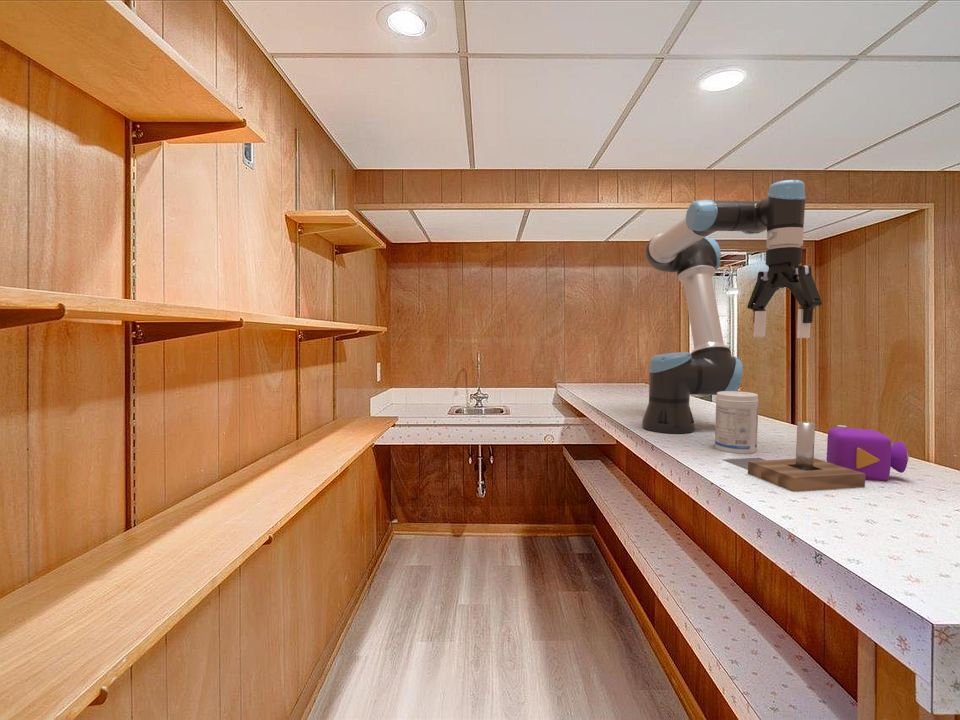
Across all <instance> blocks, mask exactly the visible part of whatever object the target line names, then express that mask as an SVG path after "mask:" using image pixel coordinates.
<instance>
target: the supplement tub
mask: <svg viewBox="0 0 960 720" xmlns="http://www.w3.org/2000/svg"><path fill="white" fill-rule="evenodd" d="M758 420H759V395H758V393H755V392H749V391H741V390H740V391H738V390H736V391H721V392H717V395H716V398H715V424H714V425H715V427H714V430H715V431H714V434H715V435H714V447H715V449H716V450H718V451H721V452H726V453H730V454H740V455H750V454H754V453H756V451H757V449H758V428H759V427H758V425H759V422H758Z"/></svg>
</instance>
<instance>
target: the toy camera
mask: <svg viewBox="0 0 960 720" xmlns="http://www.w3.org/2000/svg"><path fill="white" fill-rule="evenodd" d="M826 442H827V443H826V445H827V446H826V462H829V463H832V464H835V465H839V466H842V467H845V468H849V469H852V470H855V471H859V472H862V473H865V480H872V481H881V482H883V481H888V480H889V479H890V475H891V469H893V470H895V471H896V472H898V473H900V474H903V473H904V472H905V471H906V469H907V466H908V462H909V460H910V459H909V457H910V456H909V453H908V449H907V446H906V444H905V443H904V442H903V441H902V440H900V441H897V442H895V443H892V441H891V438H889V437H888V436H887V435H885V434H883V433H881V432H879V431H877V430H874V429H866V428H864V429H863V428H853V427H852V428H851V427H848V425H842V424H838V425H836V427H832V428H830V429H828V432H827V441H826Z"/></svg>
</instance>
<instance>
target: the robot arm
mask: <svg viewBox="0 0 960 720" xmlns="http://www.w3.org/2000/svg"><path fill="white" fill-rule="evenodd" d="M806 199H807V196H806V184H805V183H804V181H802V180H800V179H787V180H780V181H776V182H773V183H772V184H771V185H770V186H769V187H768V192H767V197H766V198H764V199H762V200H722V199H721V200H720V199H719V200H715V199H712V200H711V199H702V200H694V201H692V202H691V203H690V204H689V206H688V208H687V210H686V214H685V217H684V218H683V219H682V220H680V221H679V222H678V223H676V224H674V225H673V226H671V227H670V228H669V229H668V230H666V231H665V232H663V233H658V234H656V235H655V236H653V237H651V238H650V240H649V241H648V242H647V243H646V245H645V248H644V256H645V260H646V262H647V263H648V264H649V266H650V267H651V268H652V269H655V270H656V271H659V272H664V273H677V280H678V281H679V282H680V283H682V284H683V287H684V292H685V298H686V306H687V312H688V318H689V324H690V330H691V336H692V343H693V350H692V351H691V352H686V351H683V352H682V351H680V352H667V353H660V354H655V355H653V356H652V357H651V358H650V361H649V370H648V372H649V379H648V381H649V382H648V384H649V385H648V404H647V406H646V410H645V412H644V413H643V414H644V415H643V418H642V420H641V421H642V422H641V426H642V427H641V428H643V429H645V430H648V431H651V432H652V431H653V432H659V433H664V434H665V433H666V434H667V433H668V434H687V433H688V434H689V433H693V432H695V428H696V427H695V426H696V425H695V420H694V416H693V413H692V410H691V407H690V396H692V395H693V396H699V395H700V396H703V395H708V396H717V392H721V391H738V389H739V388H740V386H741V383H742V380H743V376H744V375H743V374H744V369H743V363H742V361H741V360H740V358H739V357H736V356H734V355H733V356H732V352H731V351H732V350H731V348H730V347H729V346H727V345H725V343H724V337H723V333H722V327H721V321H720V315H719V309H718V306H717V305H718V304H717V300H716V293H715V288H714V282H713V277H714V276H715V275H716V274H717V273H716V272H717V270H718V269H719V268H720V265H721V262H722V261H721V258H722V253H721V248H720V245H719V243H718V242H717V241H716V240H715V239H714V238H711V237H708V236H709V235H711V234H714V232H742V233H744V234H745V235H754V234H760V233H764V232H765V231H766V246H765V247H766V248H767V251H766V252H765V266H767V267H768V271H758V272H757V278H756V282H755V284H754V287H753V290H752V292H751V295H750V298H749V300H748V303H747V306H746V308H747V309H750V310H752V311H753V318H752V319H753V322H752V323H753V337H754V338H765V337H766V332H767V331H766V327H767V326H766V325H767V324H766V323H767V311H766V309H765V308H766V307H767V305H768V304H769V302H770V301H771V299H772V297H773V296H774V295H775V293H776V292H777V291H778V290H780V289H784V288H787V289H789V290H790V292H791V294H792V295H793V297H794V298H795V300H796V301H797V303H798V304H799V306H800V307H799V308H798V309H797V310H798V311H797V327H796V328H797V329H796V338H797V339H810V338H811V324H812V323H813V318H814V315H813V314H814V309H815V308H817V307H819V306H822V304H823V301H822V298H821V295H820V293H819V291H818V288H817V285H816V283H815V281H814V277H813V276H812V275H813V273H812V266H811V265H802V263H803V248H801V247H803V245H804V224H805V211H806V210H805V209H806Z"/></svg>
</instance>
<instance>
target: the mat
mask: <svg viewBox="0 0 960 720" xmlns="http://www.w3.org/2000/svg"><path fill="white" fill-rule="evenodd" d="M721 460H722V461H724V462H727V463H729V464H731V465H735V466H737V467H740V468H743V469H745V470H747V471H748V461H761V460H766V459H765V458H762V457H745V458H744V457H743V458H725V459H721Z"/></svg>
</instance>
